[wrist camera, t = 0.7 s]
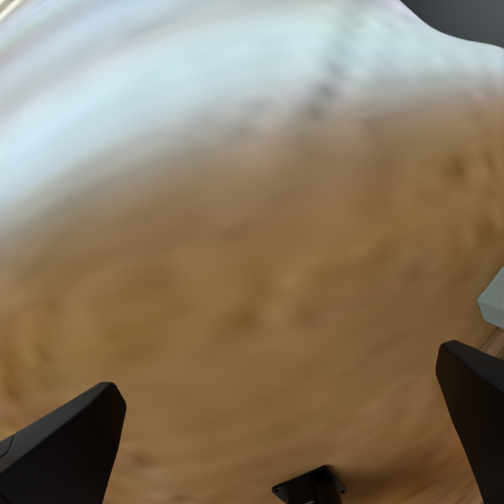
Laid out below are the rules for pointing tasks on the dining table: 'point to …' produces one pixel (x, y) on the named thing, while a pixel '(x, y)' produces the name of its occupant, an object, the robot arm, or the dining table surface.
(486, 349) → the board
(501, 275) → the pale blue rectangular block
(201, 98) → the dining table surface
